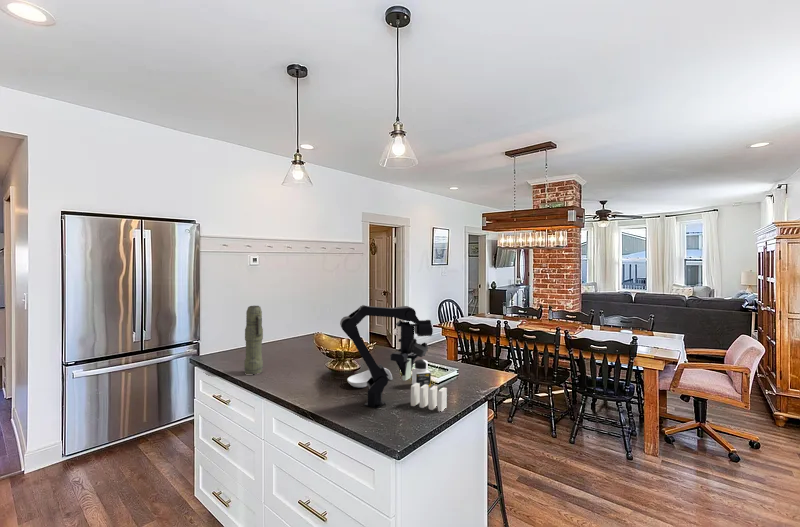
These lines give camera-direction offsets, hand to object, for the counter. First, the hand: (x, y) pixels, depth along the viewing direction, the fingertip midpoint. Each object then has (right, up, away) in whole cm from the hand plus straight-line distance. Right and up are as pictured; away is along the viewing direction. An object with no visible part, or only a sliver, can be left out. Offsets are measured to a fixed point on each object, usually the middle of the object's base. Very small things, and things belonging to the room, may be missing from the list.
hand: (406, 373), depth 161 cm
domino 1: (+3, -12, -2) cm, 12 cm away
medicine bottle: (+7, -12, +22) cm, 26 cm away
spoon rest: (-17, -12, +25) cm, 33 cm away
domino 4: (+14, -12, -8) cm, 20 cm away
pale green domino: (0, -2, 0) cm, 2 cm away
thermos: (-79, -11, +40) cm, 90 cm away
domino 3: (+10, -12, -6) cm, 17 cm away
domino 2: (+7, -12, -4) cm, 14 cm away
